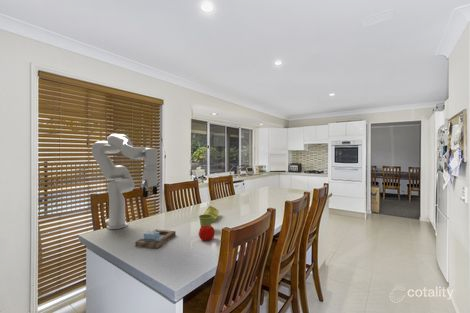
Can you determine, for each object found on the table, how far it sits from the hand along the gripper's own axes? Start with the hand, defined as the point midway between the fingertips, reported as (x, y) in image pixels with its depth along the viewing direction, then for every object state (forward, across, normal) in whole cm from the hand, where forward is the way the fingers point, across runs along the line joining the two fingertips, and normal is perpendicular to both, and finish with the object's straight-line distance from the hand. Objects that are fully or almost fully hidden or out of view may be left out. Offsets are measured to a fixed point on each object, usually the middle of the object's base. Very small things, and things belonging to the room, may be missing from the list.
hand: (150, 195), depth 145 cm
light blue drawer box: (+22, +15, +12) cm, 29 cm away
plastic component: (+23, -39, +26) cm, 52 cm away
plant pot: (+22, -15, +32) cm, 42 cm away
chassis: (+23, +10, +12) cm, 27 cm away
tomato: (+22, +1, +38) cm, 44 cm away
